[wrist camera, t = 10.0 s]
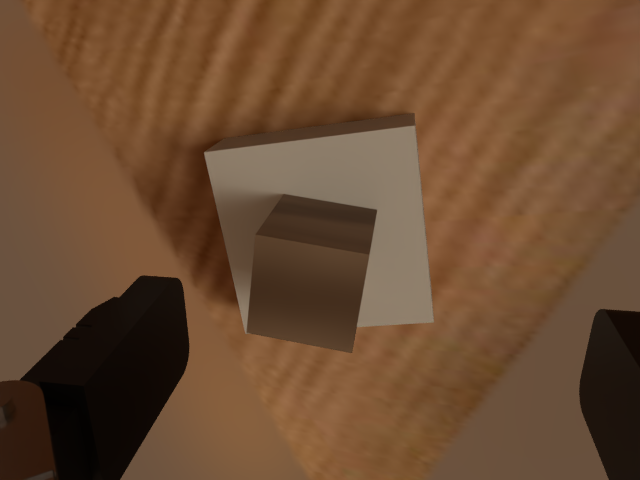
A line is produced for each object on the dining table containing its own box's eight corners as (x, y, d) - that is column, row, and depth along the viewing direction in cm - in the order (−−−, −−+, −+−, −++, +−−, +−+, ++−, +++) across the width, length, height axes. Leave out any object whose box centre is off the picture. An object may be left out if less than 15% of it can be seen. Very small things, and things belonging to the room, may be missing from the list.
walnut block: (283, 193, 30) (255, 234, 25) (377, 209, 30) (369, 254, 24) (274, 277, 32) (246, 332, 27) (362, 293, 32) (352, 353, 26)
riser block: (226, 136, 34) (203, 152, 30) (414, 112, 32) (414, 125, 28) (261, 302, 38) (245, 333, 34) (431, 289, 35) (433, 322, 32)
